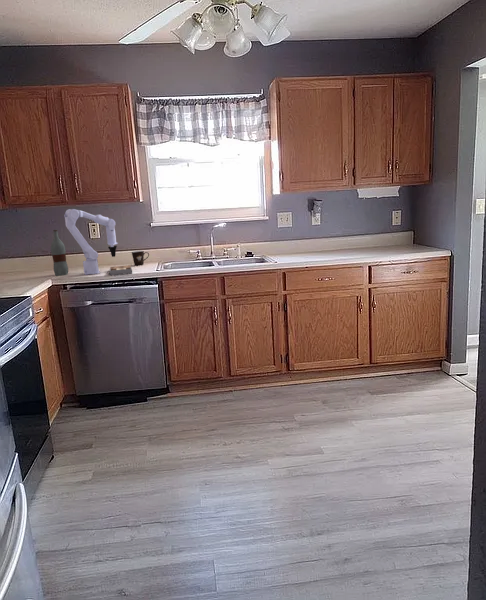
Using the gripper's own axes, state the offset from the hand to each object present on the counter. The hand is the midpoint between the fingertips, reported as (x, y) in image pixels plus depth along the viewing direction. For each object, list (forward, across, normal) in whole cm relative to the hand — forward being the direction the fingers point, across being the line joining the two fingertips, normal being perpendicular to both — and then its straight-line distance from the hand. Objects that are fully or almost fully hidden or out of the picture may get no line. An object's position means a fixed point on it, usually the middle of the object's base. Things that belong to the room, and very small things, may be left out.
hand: (113, 256), depth 316 cm
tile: (+9, -16, -4) cm, 19 cm away
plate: (+9, -5, -4) cm, 11 cm away
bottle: (+10, +2, +35) cm, 36 cm away
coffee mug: (+10, +16, -18) cm, 26 cm away
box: (+9, -17, -4) cm, 20 cm away
